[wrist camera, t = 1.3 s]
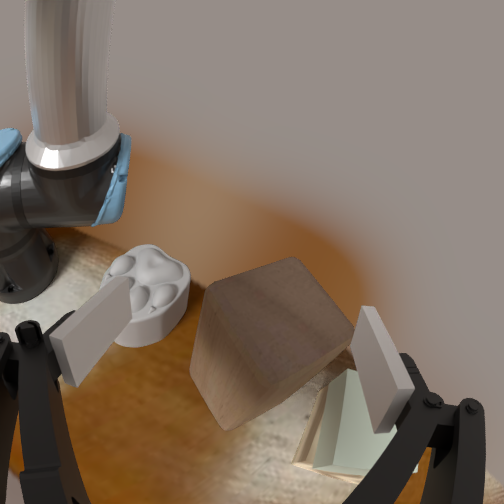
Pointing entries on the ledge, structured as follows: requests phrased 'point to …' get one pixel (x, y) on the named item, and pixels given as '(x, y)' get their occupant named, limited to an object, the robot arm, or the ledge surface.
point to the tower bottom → (310, 442)
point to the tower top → (348, 430)
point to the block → (264, 339)
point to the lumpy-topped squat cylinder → (151, 293)
